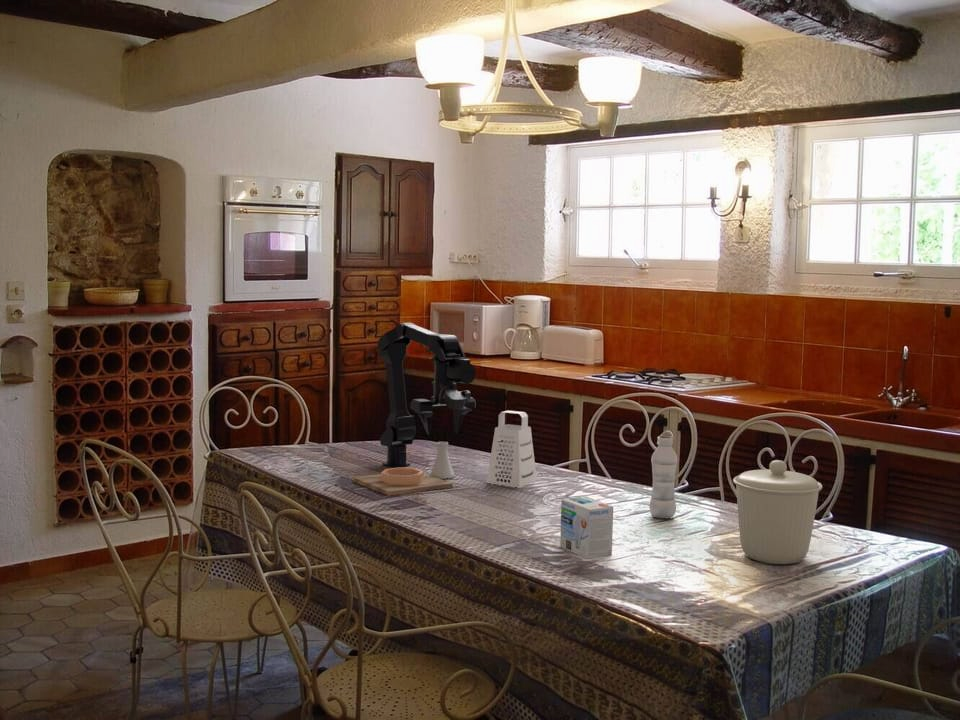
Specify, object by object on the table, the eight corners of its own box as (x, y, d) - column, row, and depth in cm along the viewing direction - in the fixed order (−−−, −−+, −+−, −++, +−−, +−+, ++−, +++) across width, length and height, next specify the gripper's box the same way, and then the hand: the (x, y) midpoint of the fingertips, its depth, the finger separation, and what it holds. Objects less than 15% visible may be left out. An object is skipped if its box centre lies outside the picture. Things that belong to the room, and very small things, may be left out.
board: (353, 481, 282) (353, 477, 281) (414, 474, 293) (414, 470, 293) (388, 496, 265) (388, 491, 265) (452, 487, 277) (452, 483, 277)
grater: (519, 488, 277) (521, 416, 275) (486, 483, 283) (487, 412, 281) (536, 481, 286) (538, 411, 284) (504, 476, 292) (505, 408, 290)
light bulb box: (558, 547, 221) (560, 498, 220) (584, 543, 224) (585, 495, 223) (587, 559, 211) (588, 509, 210) (613, 555, 215) (614, 505, 214)
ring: (375, 478, 280) (375, 470, 280) (409, 474, 287) (409, 466, 286) (395, 486, 271) (395, 477, 271) (430, 481, 278) (430, 473, 277)
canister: (836, 567, 209) (841, 467, 207) (759, 573, 204) (764, 470, 202) (786, 543, 226) (790, 450, 224) (714, 549, 221) (718, 454, 219)
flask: (454, 480, 286) (454, 445, 285) (428, 479, 287) (429, 444, 286) (455, 474, 294) (455, 440, 293) (430, 474, 294) (431, 440, 293)
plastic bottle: (646, 519, 245) (649, 438, 243) (651, 513, 252) (654, 434, 250) (673, 522, 243) (676, 440, 241) (677, 516, 249) (680, 436, 248)
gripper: (430, 385, 274) (429, 441, 276) (487, 381, 285) (485, 436, 287) (410, 379, 284) (408, 434, 285) (465, 376, 294) (464, 429, 296)
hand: (442, 433), depth 288 cm, fingers open, 9 cm apart
